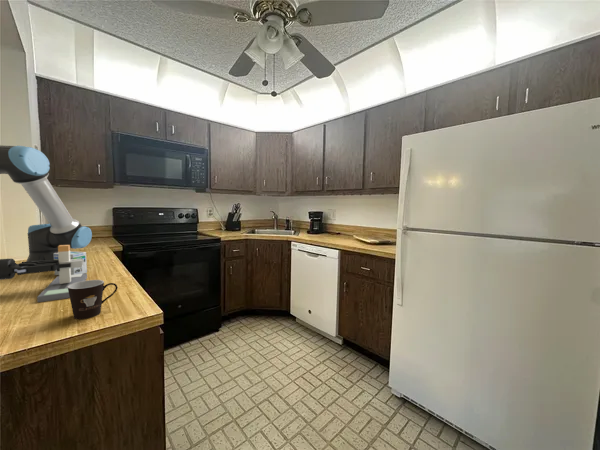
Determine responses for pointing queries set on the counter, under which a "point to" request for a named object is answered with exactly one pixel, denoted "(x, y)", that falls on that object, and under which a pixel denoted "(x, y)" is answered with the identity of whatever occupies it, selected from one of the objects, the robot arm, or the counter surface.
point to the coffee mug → (87, 298)
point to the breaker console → (59, 288)
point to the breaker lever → (64, 257)
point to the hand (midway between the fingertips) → (82, 262)
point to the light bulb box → (75, 256)
